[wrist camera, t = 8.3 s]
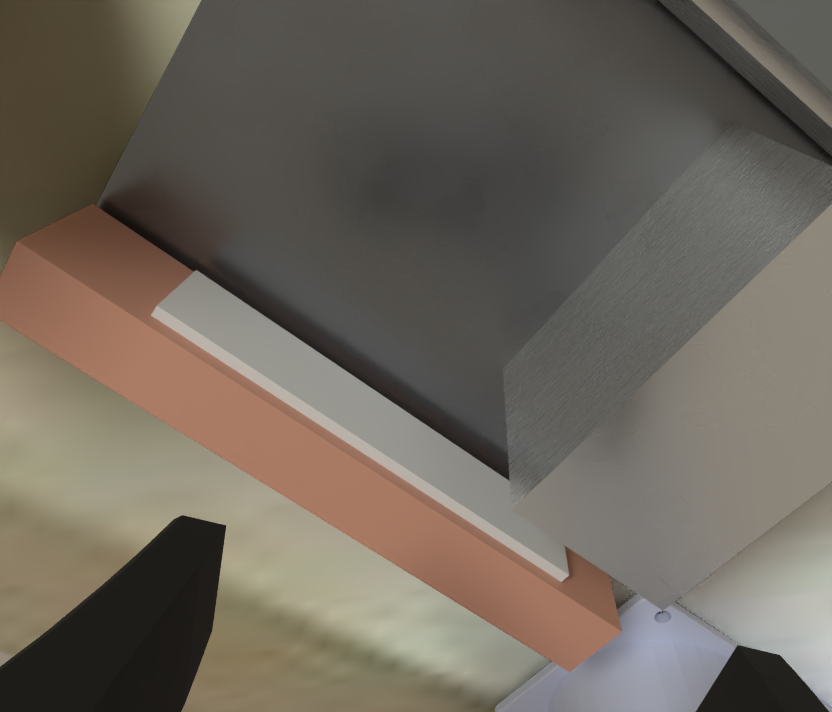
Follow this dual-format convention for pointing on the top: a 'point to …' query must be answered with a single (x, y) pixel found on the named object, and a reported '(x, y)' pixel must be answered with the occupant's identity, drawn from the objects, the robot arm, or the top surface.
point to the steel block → (686, 375)
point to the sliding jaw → (300, 427)
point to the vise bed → (447, 164)
